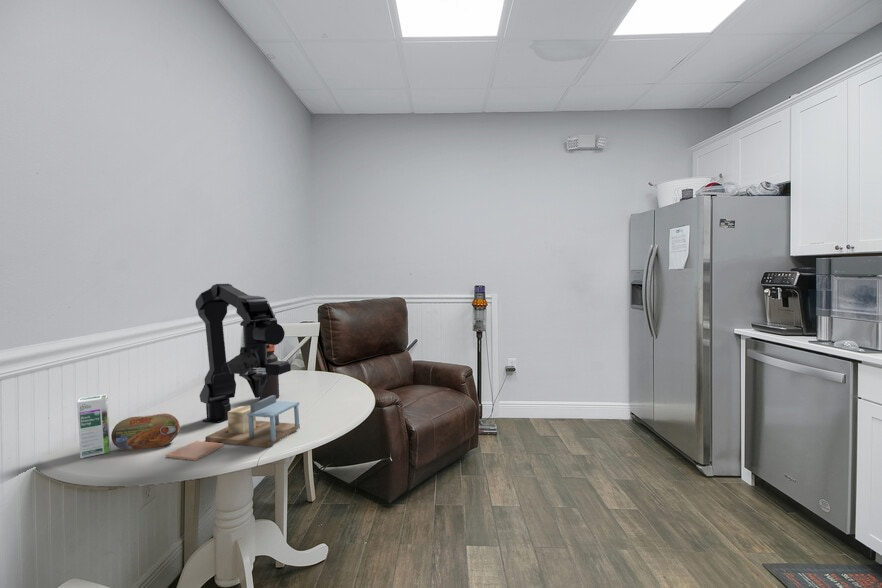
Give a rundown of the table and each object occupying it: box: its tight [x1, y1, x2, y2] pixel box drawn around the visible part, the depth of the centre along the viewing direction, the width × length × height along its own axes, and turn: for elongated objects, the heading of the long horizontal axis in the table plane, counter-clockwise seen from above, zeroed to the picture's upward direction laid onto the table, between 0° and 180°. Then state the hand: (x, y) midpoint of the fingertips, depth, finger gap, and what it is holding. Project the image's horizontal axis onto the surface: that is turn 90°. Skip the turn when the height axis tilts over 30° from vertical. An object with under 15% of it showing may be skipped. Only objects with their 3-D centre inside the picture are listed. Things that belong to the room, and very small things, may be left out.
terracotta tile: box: [165, 440, 225, 461], centre depth 105 cm, size 9×9×1 cm
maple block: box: [227, 405, 257, 434], centre depth 116 cm, size 5×5×7 cm
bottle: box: [259, 345, 280, 401], centre depth 151 cm, size 7×7×20 cm
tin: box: [110, 413, 180, 452], centre depth 109 cm, size 15×3×8 cm, turn 106°
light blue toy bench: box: [247, 395, 300, 441], centre depth 113 cm, size 8×12×9 cm
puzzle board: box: [204, 420, 301, 448], centre depth 115 cm, size 20×14×1 cm
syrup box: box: [76, 393, 111, 459], centre depth 106 cm, size 6×6×14 cm
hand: (257, 397), depth 115 cm, fingers closed
